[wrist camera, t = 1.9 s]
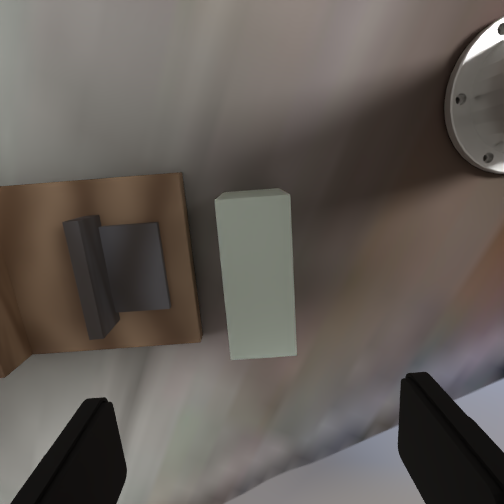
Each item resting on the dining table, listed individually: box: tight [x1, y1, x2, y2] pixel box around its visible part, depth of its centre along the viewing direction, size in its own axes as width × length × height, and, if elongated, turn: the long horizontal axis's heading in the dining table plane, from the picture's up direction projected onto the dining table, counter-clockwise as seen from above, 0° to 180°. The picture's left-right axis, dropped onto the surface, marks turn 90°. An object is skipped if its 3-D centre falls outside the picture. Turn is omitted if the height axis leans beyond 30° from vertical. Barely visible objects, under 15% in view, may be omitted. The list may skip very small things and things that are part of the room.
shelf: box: [0, 173, 203, 378], centre depth 27 cm, size 18×16×5 cm
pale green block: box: [214, 188, 297, 360], centre depth 26 cm, size 5×12×8 cm, turn 4°
